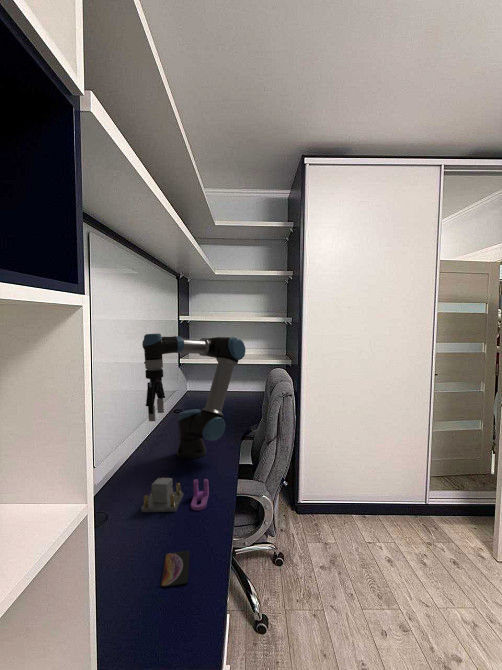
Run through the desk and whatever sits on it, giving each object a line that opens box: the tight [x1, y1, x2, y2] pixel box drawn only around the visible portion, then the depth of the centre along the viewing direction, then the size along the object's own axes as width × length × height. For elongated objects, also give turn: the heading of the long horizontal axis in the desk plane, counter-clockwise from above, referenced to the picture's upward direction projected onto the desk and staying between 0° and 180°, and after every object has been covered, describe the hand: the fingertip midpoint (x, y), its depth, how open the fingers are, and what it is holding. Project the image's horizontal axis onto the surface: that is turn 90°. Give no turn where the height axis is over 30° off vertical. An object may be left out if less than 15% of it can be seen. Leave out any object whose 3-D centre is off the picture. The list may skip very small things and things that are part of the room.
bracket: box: [190, 478, 210, 511], centre depth 151 cm, size 13×6×7 cm, turn 179°
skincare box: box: [151, 477, 174, 503], centre depth 151 cm, size 6×6×7 cm
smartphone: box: [159, 550, 191, 589], centre depth 111 cm, size 8×1×15 cm
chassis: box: [140, 482, 184, 513], centre depth 151 cm, size 13×13×6 cm
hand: (156, 416), depth 171 cm, fingers open, 13 cm apart
